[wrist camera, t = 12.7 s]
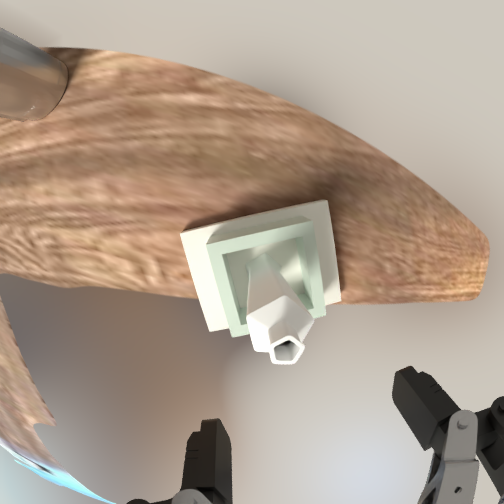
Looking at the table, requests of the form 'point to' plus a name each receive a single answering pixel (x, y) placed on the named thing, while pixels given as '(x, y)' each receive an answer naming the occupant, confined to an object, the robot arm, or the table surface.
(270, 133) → the table surface
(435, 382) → the robot arm
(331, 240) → the stand
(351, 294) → the table surface
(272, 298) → the perfume bottle
